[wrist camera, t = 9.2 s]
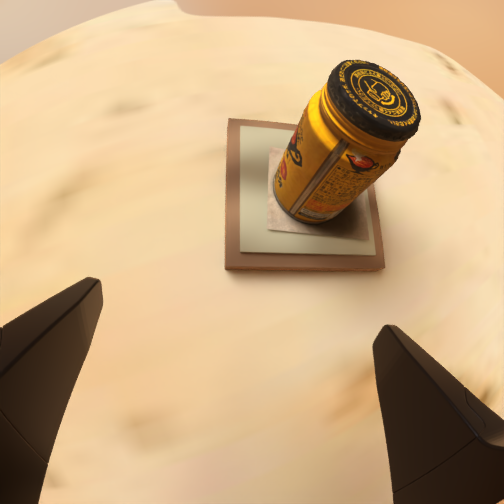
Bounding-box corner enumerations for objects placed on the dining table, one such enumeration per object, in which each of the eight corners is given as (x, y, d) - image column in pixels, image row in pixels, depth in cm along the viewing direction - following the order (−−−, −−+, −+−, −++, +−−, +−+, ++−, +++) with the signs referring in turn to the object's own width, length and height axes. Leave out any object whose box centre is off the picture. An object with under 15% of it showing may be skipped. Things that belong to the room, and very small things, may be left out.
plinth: (377, 270, 25) (386, 267, 23) (224, 269, 23) (226, 265, 21) (358, 142, 28) (364, 134, 27) (227, 126, 26) (229, 116, 25)
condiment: (268, 147, 24) (313, 34, 13) (360, 164, 26) (437, 79, 14) (265, 230, 23) (326, 135, 11) (367, 241, 24) (472, 178, 12)
